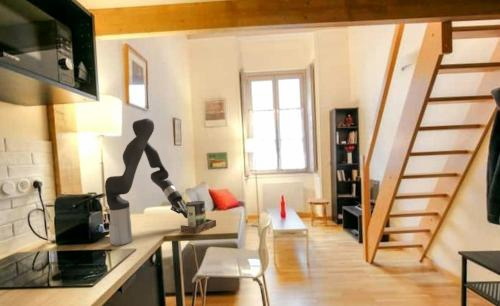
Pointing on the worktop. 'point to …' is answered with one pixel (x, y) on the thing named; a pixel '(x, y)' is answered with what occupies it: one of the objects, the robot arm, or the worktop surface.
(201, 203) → the coffee can
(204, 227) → the walnut bay
